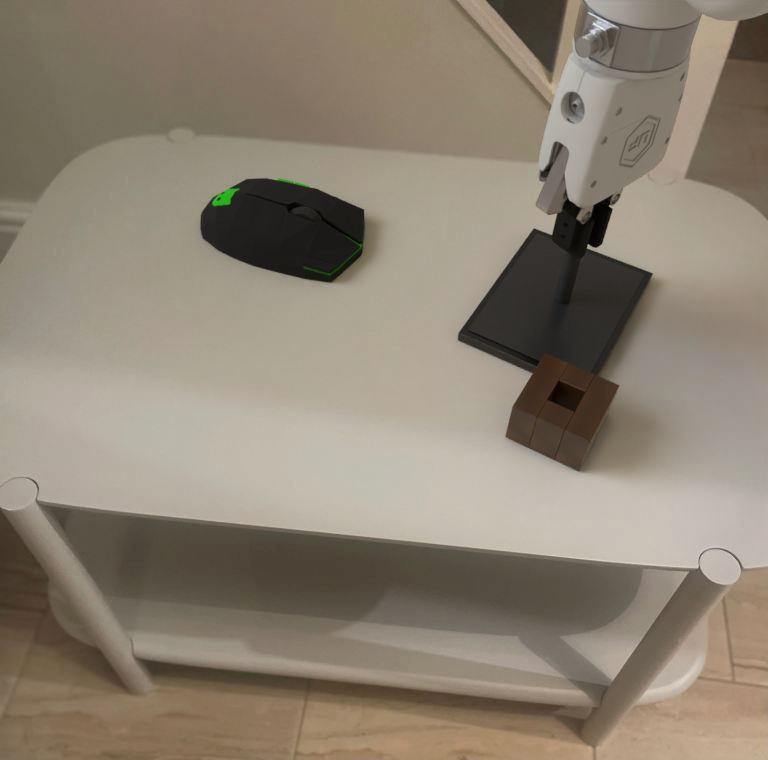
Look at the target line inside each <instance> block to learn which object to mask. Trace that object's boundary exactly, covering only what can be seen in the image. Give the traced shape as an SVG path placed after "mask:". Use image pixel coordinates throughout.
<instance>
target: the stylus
mask: <svg viewBox="0 0 768 760" xmlns="http://www.w3.org/2000/svg"><path fill="white" fill-rule="evenodd" d="M594 207H595V204H594V206H593V210H594ZM593 210H592V214H593ZM592 214H591V217H592ZM580 261H581V258H580V259H576V258H575V257H573V256H572V255H571V254H569V253H568V252H566V251H565V255H564V260H563V264H562V268H561V272H560V277H559V281H558V285H557V289H556V294H555V299H556V300H557V301H558V302H560V303H568V302H569V301H570V300H571V296H572V292H573V288H574V284H575V280H576V276H577V273H578V269H579V265H580Z"/></svg>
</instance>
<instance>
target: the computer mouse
mask: <svg viewBox="0 0 768 760" xmlns="http://www.w3.org/2000/svg"><path fill="white" fill-rule="evenodd" d="M199 222H200V224H199V225H200V226H199V228H200V234H201V236H202V239H203V240H204V241H206V242H207V243H208V244H210V246H212V247H213V248H215V250H217V251H219V252H220V253H223V254H225V255H227V256H228V257H230V258H233V259H235V260H238V261H240V262H242V263H245V264H248V265H251V266H254V267H257V268H259V269H260V268H261V269H264V270H268V271H272V272H276V273H280V274H284V275H288V276H293V277H296V278H300V279H305V280H311V281H319V282H324V283H325V282H326V283H332V282H333V281H334V280H336V279H337V278H338V277H339V276H340V275H342V273H344V272H345V271H346V270H347V269H348V268H350V266H351V265H353V263H354V262H355V261H356V260H358V259H359V258H360V257H361V256H362V254H363V249H364V239H365V236H364V235H365V209H364V208H361V207H359V206H357V205H355V204H353V203H350V202H348V201H346V200H343V199H341V198H339V197H337V196H334V195H331V194H329V193H327V192H326V191H323V190H321V189H318V188H316V187H310V185H307V184H304V183H301V182H298V181H295V182H294V181H293V180H289V179H284V178H278V179H273V178H268V177H261V178H260V177H258V178H246V179H244V180H242V181H240V182H238V183H237V184H235V185H233V186H231V187H229V188H227V189H225V190H223V191H222V192H219V193H218V194H216V195H215V196H213V197H211V199H210V201H209V202H208V203H207V204H206V206H205V207H204V208H203V210H202V211H201V213H200V219H199Z"/></svg>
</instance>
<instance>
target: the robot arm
mask: <svg viewBox="0 0 768 760" xmlns="http://www.w3.org/2000/svg"><path fill="white" fill-rule="evenodd" d="M765 14H768V0H580V2H579V6H578V12H577V17H576V21H575V26H574V31H573V35H572V38H571V39H572V40H571V48H572V52H570V53H569V55H568V57H567V60H566V63H565V65H564V68H563V71H562V72H561V73H562V74H561V77H560V79H559V82H558V85H557V88H556V91H555V94H554V97H553V99H552V103H551V107H550V110H549V113H548V118H547V120H546V121H547V122H546V125H545V129H544V133H543V136H542V142H541V146H540V151H539V157H538V163H537V178H538V181H539V182H543V186H542V187H541V190H540V192H539V195H538V197H537V198H536V202H535V207H536V208H538V209H539V210H540V211H542V212H543V213H544V214H546V215H547V216H552V215H556V216H555V220H554V225H553V229H552V234H551V235H552V241H553V242H554V243H555V244H557V245H558V246H559V247H561V248H562V249H564V250H565V251H566V252H568V253H569V254H571V255H572V256H573V257H575V258H576V259H580V258H582V257H583V256H584V255H585V253H586V249H588V245H589V246H590V247H591V248H595V249H598V248H599V247H600V246H602V245H603V243H604V240H605V236H606V233H607V229H608V227H609V223H610V220H611V216H612V213H613V210H614V208H613V206H615V205H616V204H617V203H618V202H619V200H620V199H621V196H622V193H623V191H624V188H625V187H627V186H629V185H631V184H633V183H634V182H636V181H637V180H639V179H640V178H642V177H644V176H645V175H646V174H648V173H649V172H651V171H652V170H654V169H655V168H657V166H659V164H661V162H662V161H663V159H664V158H665V156H666V152H667V150H668V147H669V145H670V141H671V138H672V135H673V132H674V128H675V125H676V121H677V118H678V115H679V111H680V108H681V103H682V99H683V95H684V92H685V88H686V83H687V78H688V73H689V68H690V61H691V54H692V45H693V42H694V39H695V36H696V33H697V30H698V27H699V24H700V21H701V18H702V15H704V16H706V17H708V18H711V19H714V20H717V21H722V22H723V21H724V22H739V21H745V20H749V19H754V18H757V17H760V16H762V15H765ZM594 204H595V207H594V210H593V206H594ZM592 210H593V214H592ZM591 214H592V217H591Z"/></svg>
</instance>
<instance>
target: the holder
mask: <svg viewBox="0 0 768 760" xmlns="http://www.w3.org/2000/svg"><path fill="white" fill-rule="evenodd" d="M619 388H620V384H618V383H615V382H613V381H611V380H609V379H606V378H604V377H602V376H600V375H599V376H597V375H594V374H592V373H590V372H588V371H585V370H583V369H581V368H578V367H576V366H574V365H571V364H568V363H567V362H565V361H562V360H560V359H558V358H555V357H553V356H551V355H548V354H546V353H545V354H544V356H543V358H542V359H541V361H540V362H539V364H538V366H537V367H536V369H535V371H534V372H533V373H531V376H530V377H529V379H528V380H527V382H526V384H525V385H524V387H523V388H522V390H521V392H520V394H519V395H518V396H517V398H516V400H515V402H514V403H513V405H512V407H511V411H510V416H509V419H508V425H507V427H506V432H505V438H507V439H509V440H511V441H512V442H515V443H518V444H520V445H522V446H524V447H526V448H528V449H530V450H532V451H534V452H537V453H539V454H541V455H543V456H544V457H547V458H550V459H552V460H555V461H556V462H558V463H560V464H562V465H564V466H566V467H569V468H571V469H572V470H574V471H577V472H579V471H580V470H581V468H582V466H583V464H584V462H585V460H586V458H587V457H588V454H589V453H590V450H591V448H592V446H593V445H594V442H595V441H596V439H597V437H598V435H599V433H600V431H601V429H602V427H603V425H604V423H605V421H606V419H607V417H608V416H609V412H610V410H611V408H612V406H613V403H614V400H615V398H616V395H617V394H618V393H617V392H618V390H619Z"/></svg>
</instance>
